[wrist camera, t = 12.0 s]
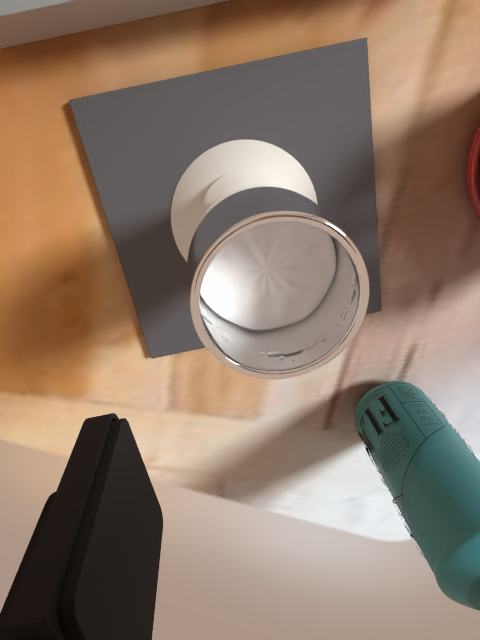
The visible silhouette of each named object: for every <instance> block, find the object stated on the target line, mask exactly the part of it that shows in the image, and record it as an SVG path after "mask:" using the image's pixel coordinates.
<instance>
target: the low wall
mask: <svg viewBox="0 0 480 640" xmlns="http://www.w3.org/2000/svg"><path fill="white" fill-rule="evenodd" d="M225 1H230V0H0V49H2V48H7V47H12V46H16V45H21V44H26V43H31V42H35V41H40V40H45V39H50V38H54V37H59V36H64V35H69V34H73V33H78V32H83V31H88V30H92V29H97V28H102V27H107V26H111V25H116V24H121V23H126V22H130V21H135V20H140V19H145V18H149V17H154V16H159V15H164V14H168V13H173V12H178V11H183V10H187V9H192V8H197V7H202V6H206V5H211V4H216V3H221V2H225Z"/></svg>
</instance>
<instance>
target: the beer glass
mask: <svg viewBox="0 0 480 640" xmlns="http://www.w3.org/2000/svg"><path fill="white" fill-rule="evenodd" d="M187 282H188V290H189V297H190V309H191V316H192V320H193V324H194V327H195V329H196V332H197V334H198V336H199V338H200V340H201V341H202V343H203V344H204V346H205V347H206V348H207V350H208V351H209V352H210V353H211V354H212V355H213V356H214V357H215V358H216V359H217V360H219V361H220V362H221V363H222V364H224V365H225V366H227V367H229V368H230V369H232V370H234V371H236V372H239V373H241V374H244V375H247V376H251V377H255V378H262V379H285V378H291V377H296V376H300V375H303V374H306V373H309V372H311V371H313V370H316V369H318V368H320V367H321V366H323V365H325V364H326V363H328V362H329V361H331V360H332V359H334V358H335V357H336V356H337V355H338V354H340V353H341V352H342V351H343V350H344V349H345V348H346V346H347V345H348V344H349V343H350V342H351V340H352V339H353V338H354V336H355V335H356V333H357V331H358V330H359V328H360V326H361V324H362V322H363V319H364V316H365V314H366V310H367V306H368V300H369V278H368V273H367V269H366V265H365V262H364V260H363V258H362V255H361V253H360V252H359V250H358V248H357V247H356V245H355V244H354V243H353V241H352V240H351V239H350V238H349V237H348V236H347V235H346V234H345V233H344V232H343V231H342V230H341V228H340V227H339V226H338V225H337V224H336V223H335V221H334V220H333V219H332V218H331V217H330V216H329V215H328V214H327V213H326V212H325V211H324V210H323V209H322V208H321V207H319V206H318V205H317V204H316V203H315V202H313V201H312V200H311V199H309V198H307V197H306V196H304V195H302V194H300V193H298V192H296V191H294V190H292V189H290V188H287V187H284V186H279V185H276V184H275V183H274V182H273V181H272V180H270V179H269V178H267V177H266V176H264V175H261V174H259V173H255V172H250V171H238V172H233V173H230V174H227V175H225V176H223V177H221V178H219V179H218V180H217V181H215V182H214V183H213V184H212V185H211V186H210V187H209V189H208V190H207V191H206V193H205V194H204V196H203V198H202V201H201V204H200V207H199V214H198V224H197V226H196V228H195V230H194V232H193V235H192V238H191V242H190V247H189V252H188V259H187Z"/></svg>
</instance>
